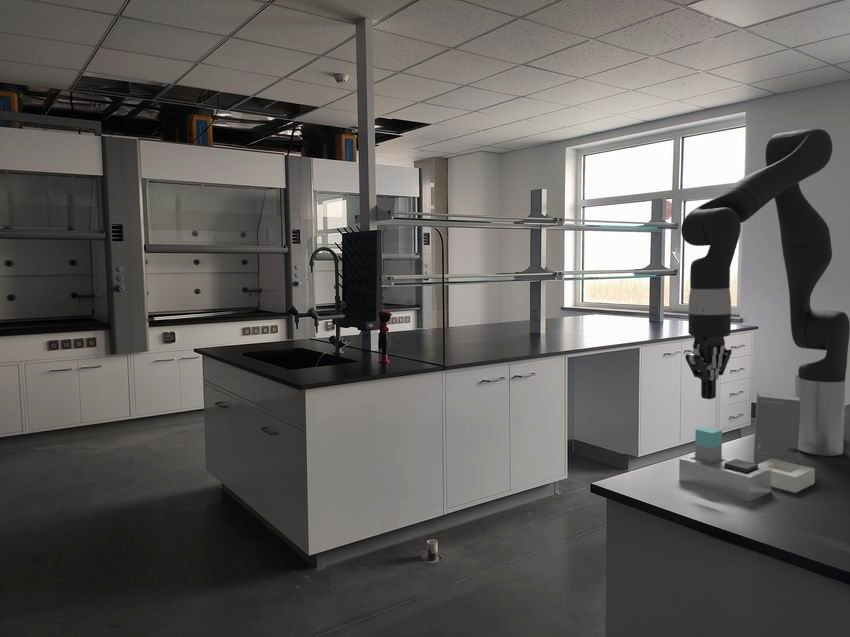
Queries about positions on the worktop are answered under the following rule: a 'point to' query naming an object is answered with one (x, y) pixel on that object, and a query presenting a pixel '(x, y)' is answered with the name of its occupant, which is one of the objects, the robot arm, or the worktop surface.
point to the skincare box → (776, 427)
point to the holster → (789, 475)
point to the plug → (708, 445)
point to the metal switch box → (727, 477)
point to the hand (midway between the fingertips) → (708, 398)
